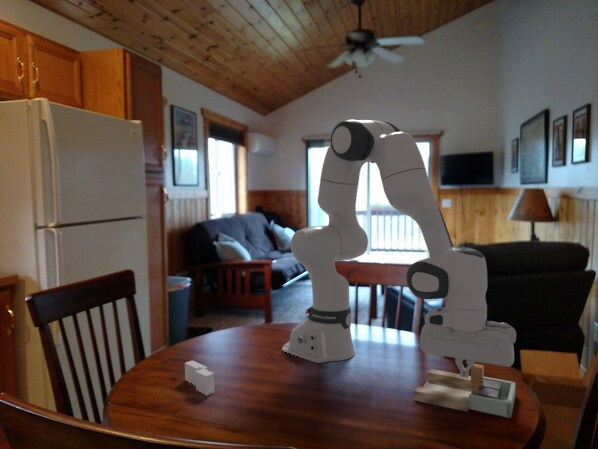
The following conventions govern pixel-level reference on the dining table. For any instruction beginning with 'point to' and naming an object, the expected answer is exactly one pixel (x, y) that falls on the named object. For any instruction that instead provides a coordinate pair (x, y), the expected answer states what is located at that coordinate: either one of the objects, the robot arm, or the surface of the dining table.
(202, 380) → the white stepped block
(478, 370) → the block
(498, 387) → the dark grey block
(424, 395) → the slot board
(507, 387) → the tray
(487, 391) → the chip
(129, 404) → the dining table surface
